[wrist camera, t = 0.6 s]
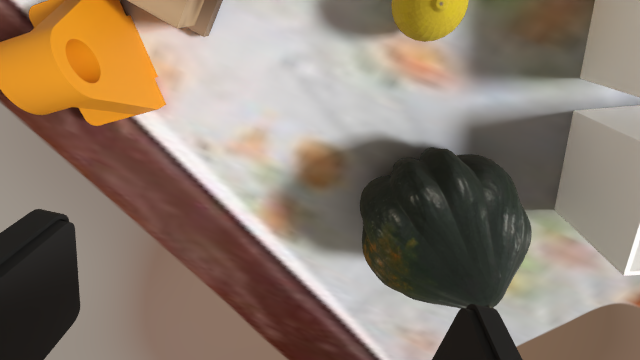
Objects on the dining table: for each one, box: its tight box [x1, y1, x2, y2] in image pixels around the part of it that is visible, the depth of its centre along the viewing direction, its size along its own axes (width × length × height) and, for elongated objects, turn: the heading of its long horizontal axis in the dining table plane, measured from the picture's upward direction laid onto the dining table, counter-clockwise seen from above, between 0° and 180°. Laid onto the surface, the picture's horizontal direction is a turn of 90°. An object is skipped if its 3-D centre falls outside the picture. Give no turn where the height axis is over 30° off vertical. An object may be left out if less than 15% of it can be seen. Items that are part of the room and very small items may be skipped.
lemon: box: [391, 0, 468, 42], centre depth 29 cm, size 6×6×8 cm
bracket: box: [0, 0, 166, 126], centre depth 30 cm, size 11×7×12 cm, turn 15°
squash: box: [360, 148, 531, 309], centre depth 35 cm, size 14×15×15 cm
